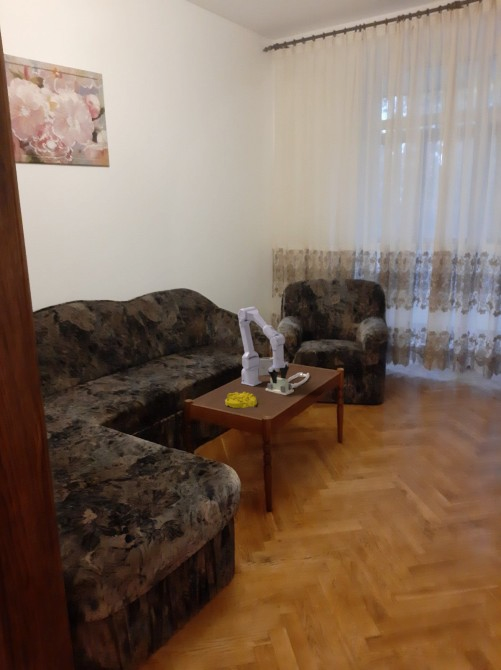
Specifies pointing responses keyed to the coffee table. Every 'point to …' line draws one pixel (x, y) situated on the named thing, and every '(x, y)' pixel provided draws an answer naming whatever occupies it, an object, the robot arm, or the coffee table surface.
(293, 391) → the plate with corner feet
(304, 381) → the door handle
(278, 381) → the long rectangular block
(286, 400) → the coffee table surface
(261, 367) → the hinge
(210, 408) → the coffee table surface
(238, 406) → the yellow textured disc
